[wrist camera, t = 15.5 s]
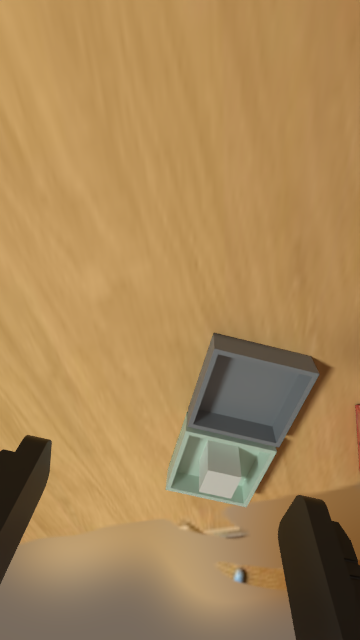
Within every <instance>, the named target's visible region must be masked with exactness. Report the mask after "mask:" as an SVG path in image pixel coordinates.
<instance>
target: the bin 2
mask: <svg viewBox="0 0 360 640" xmlns="http://www.w3.org/2000/svg"><path fill="white" fill-rule="evenodd" d="M187 426H188V412H187V414H186V417H185V420H184V423H183V426H182V429H181V432H180V435H179V438H178V441H177V444H176V447H175V450H174V453H173V456H172V459H171V462H170V465H169V468H168V473H167V482H166V490H169V491H174V492H178V493H183V494H188V495H192V496H197V497H201V498H206V499H211V500H215V501H220V502H225V503H229V504H234V505H238V506H243V507H247V505H248V503H249V502H250V500H251V498H252V496H253V494H254V492H255V491H256V489H257V487H258V485H259V483H260V482H261V480H262V478H263V476H264V474H265V472H266V471H267V469H268V467H269V465H270V463H271V461H272V460H273V458H274V456H275V454H276V452H277V450H276V447H275V446H270V445H266V444H261V443H257V442H253V441H248V440H244V439H240V438H235V437H231V436H226V435H222V434H218V433H213V432H209V431H204V430H200V429H196V428H191V427H187ZM207 440H211V441H215V442H219V443H224V444H228V445H233V446H237V447H238V448H239V458H240V467H241V477H242V478H241V480H240V482H239V484H238V486H237V488H236V490H235V492H234V494H233V496H232V498H231V499H230V498H225V497H221V496H216V495H212V494H207V493H202V492H199V461H200V458H201V456H202V453H203V451H204V448H205V446H206V443H207Z"/></svg>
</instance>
